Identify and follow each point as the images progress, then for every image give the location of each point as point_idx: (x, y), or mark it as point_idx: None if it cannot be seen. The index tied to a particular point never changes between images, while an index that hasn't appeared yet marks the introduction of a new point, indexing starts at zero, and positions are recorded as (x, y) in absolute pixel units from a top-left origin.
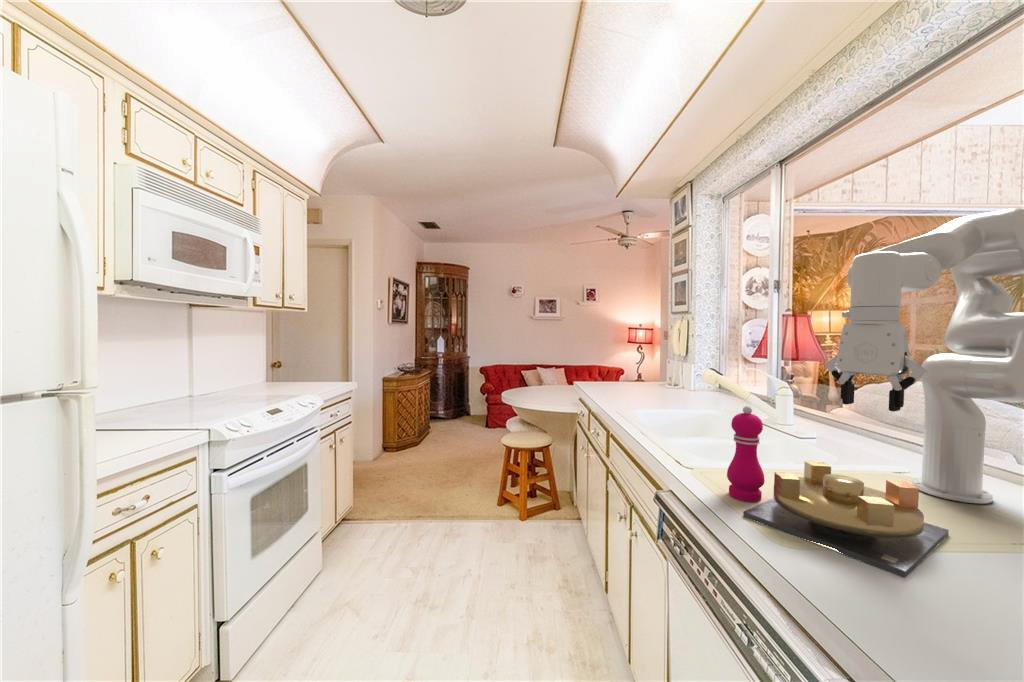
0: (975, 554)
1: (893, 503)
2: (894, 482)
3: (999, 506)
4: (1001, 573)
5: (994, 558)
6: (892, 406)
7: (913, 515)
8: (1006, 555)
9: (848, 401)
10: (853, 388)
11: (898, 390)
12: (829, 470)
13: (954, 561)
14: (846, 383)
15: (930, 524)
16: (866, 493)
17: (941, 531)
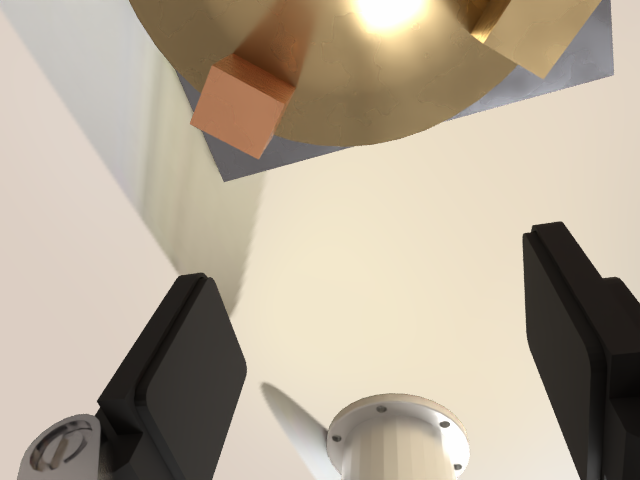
0: (140, 120)
1: (253, 61)
2: (256, 105)
3: (314, 441)
4: (61, 67)
5: (121, 141)
6: (171, 293)
7: (163, 14)
8: (131, 184)
9: (530, 273)
10: (570, 440)
11: (70, 418)
12: (484, 35)
13: (114, 20)
14: (637, 411)
15: (255, 172)
16: (347, 67)
17: (219, 152)
